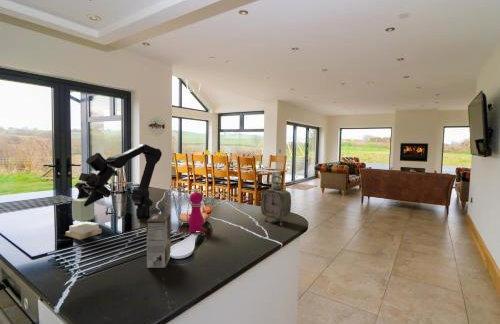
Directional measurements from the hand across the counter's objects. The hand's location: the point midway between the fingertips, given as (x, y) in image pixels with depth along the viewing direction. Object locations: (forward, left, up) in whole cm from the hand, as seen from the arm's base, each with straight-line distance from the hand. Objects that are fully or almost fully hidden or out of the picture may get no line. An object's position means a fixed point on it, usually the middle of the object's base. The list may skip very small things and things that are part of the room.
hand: (80, 205), depth 121 cm
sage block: (-1, -1, -7) cm, 7 cm away
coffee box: (-27, +42, -14) cm, 52 cm away
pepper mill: (-48, +14, -14) cm, 52 cm away
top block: (-1, -1, -12) cm, 12 cm away
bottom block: (-1, -1, -14) cm, 14 cm away
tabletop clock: (-91, +17, -14) cm, 94 cm away
